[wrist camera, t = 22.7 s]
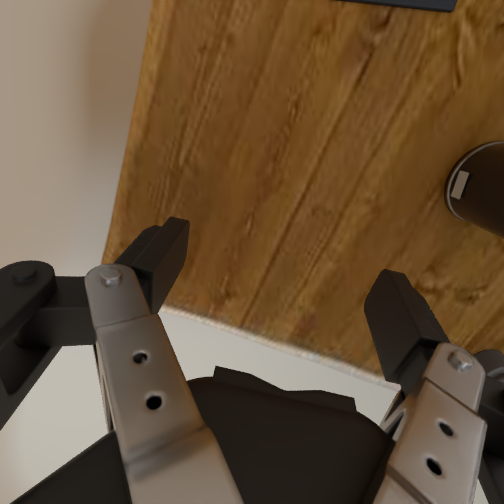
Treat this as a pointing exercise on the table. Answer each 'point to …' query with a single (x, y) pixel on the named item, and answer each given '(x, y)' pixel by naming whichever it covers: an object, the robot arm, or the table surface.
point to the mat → (415, 4)
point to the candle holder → (492, 363)
